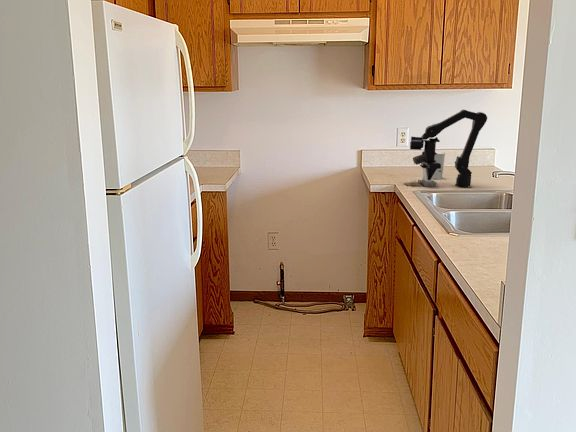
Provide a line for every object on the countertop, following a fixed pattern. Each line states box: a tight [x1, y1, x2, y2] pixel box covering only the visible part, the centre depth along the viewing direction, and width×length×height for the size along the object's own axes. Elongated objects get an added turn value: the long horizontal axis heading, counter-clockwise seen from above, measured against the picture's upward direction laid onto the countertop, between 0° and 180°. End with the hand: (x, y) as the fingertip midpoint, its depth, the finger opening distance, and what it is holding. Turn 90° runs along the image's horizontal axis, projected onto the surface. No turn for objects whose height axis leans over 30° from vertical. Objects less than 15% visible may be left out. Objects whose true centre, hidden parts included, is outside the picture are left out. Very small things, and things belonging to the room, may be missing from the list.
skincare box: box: [433, 151, 446, 180], centre depth 318 cm, size 8×6×15 cm
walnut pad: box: [403, 181, 423, 187], centre depth 299 cm, size 7×7×1 cm
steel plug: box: [421, 168, 434, 182], centre depth 299 cm, size 4×4×9 cm
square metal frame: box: [417, 179, 438, 187], centre depth 300 cm, size 7×8×2 cm
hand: (427, 179), depth 299 cm, fingers closed on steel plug, 4 cm apart
